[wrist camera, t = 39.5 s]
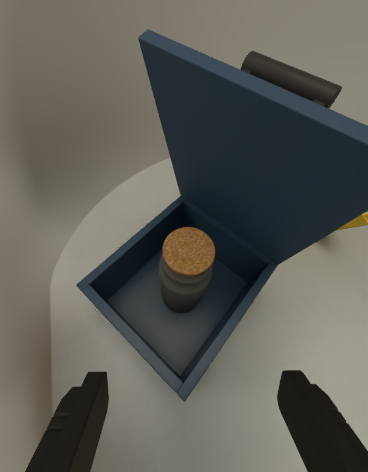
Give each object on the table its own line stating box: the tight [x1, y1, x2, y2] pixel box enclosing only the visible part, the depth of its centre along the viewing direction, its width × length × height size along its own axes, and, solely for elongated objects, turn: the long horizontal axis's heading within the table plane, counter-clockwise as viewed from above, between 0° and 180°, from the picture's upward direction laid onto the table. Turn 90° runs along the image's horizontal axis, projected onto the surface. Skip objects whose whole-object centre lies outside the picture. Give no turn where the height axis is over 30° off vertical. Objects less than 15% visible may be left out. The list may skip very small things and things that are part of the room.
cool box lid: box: [138, 30, 368, 264], centre depth 20 cm, size 19×16×5 cm
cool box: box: [76, 195, 278, 401], centre depth 29 cm, size 18×16×9 cm
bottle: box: [159, 227, 215, 313], centre depth 25 cm, size 6×6×15 cm
